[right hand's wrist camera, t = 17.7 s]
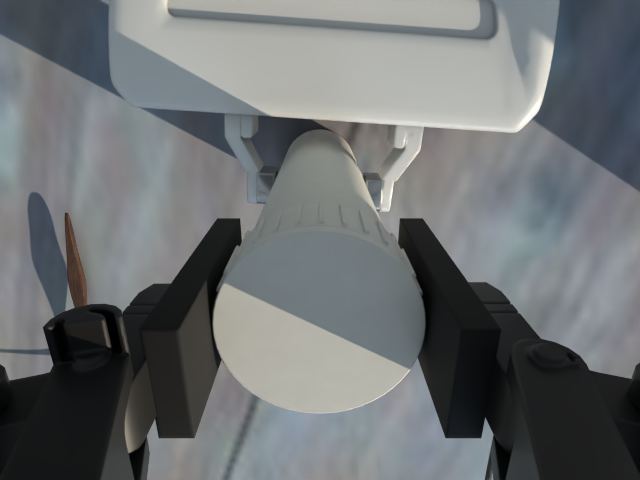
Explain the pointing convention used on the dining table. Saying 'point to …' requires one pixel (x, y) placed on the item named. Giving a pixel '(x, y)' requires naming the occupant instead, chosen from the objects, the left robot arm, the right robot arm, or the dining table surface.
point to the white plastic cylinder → (319, 176)
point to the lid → (319, 310)
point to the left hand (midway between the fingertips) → (319, 205)
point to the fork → (74, 267)
